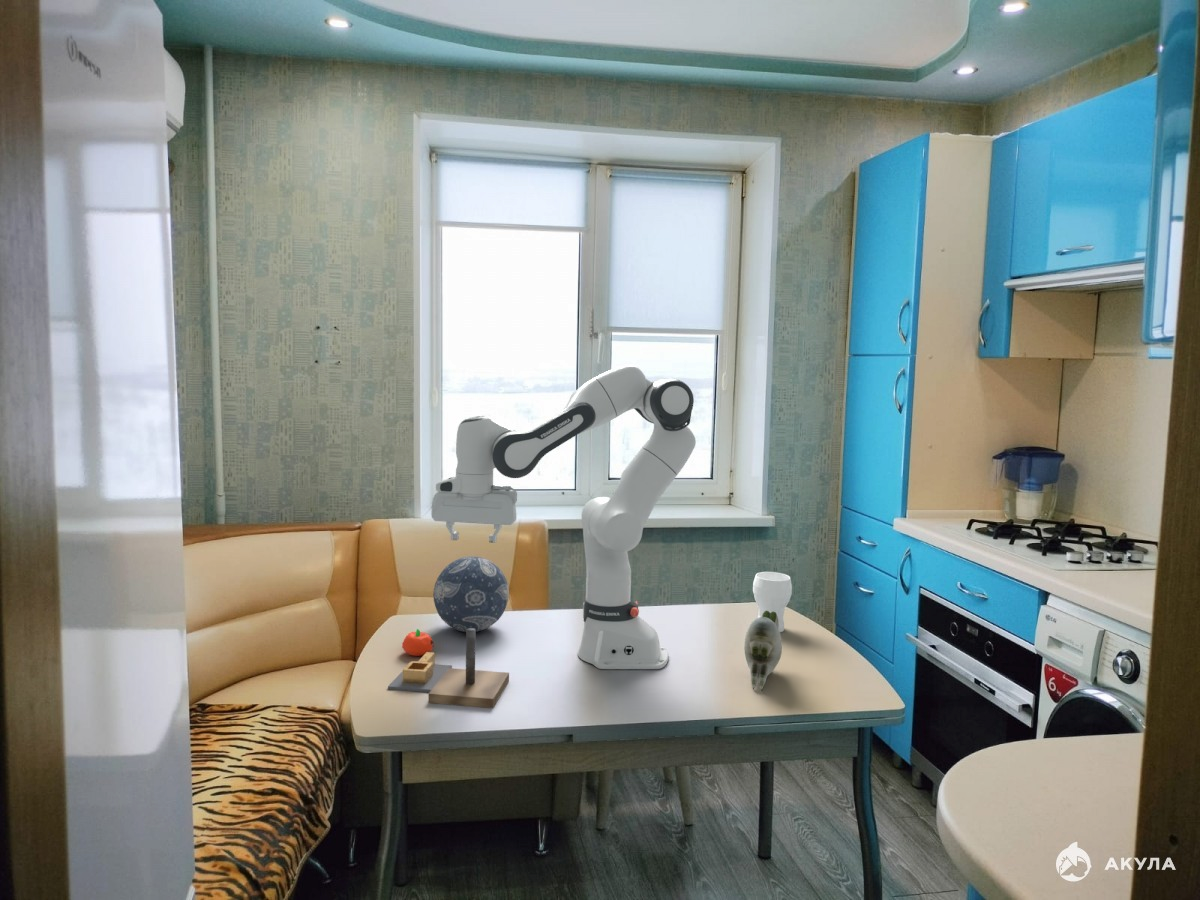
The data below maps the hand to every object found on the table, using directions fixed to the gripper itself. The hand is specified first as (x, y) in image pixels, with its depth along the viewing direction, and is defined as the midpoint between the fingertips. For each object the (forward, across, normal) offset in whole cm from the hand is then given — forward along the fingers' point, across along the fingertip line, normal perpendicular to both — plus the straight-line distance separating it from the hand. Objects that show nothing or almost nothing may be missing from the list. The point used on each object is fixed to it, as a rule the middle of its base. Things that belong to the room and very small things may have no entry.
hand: (473, 541), depth 185 cm
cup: (+29, -75, -37) cm, 89 cm away
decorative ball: (+29, +6, -19) cm, 35 cm away
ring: (+28, +8, +13) cm, 32 cm away
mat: (+29, +8, +14) cm, 33 cm away
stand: (+29, -5, +19) cm, 35 cm away
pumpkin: (+29, +14, 0) cm, 33 cm away
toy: (+29, -70, -3) cm, 76 cm away
